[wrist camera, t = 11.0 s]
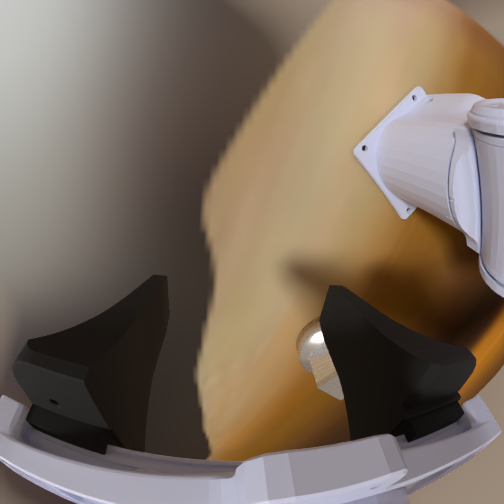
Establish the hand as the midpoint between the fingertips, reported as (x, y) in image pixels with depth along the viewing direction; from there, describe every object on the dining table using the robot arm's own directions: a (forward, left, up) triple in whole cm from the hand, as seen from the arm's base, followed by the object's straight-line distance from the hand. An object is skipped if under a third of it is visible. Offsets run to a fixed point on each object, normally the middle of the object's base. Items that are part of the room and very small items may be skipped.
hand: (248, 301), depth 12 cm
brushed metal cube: (+3, +15, -8) cm, 17 cm away
